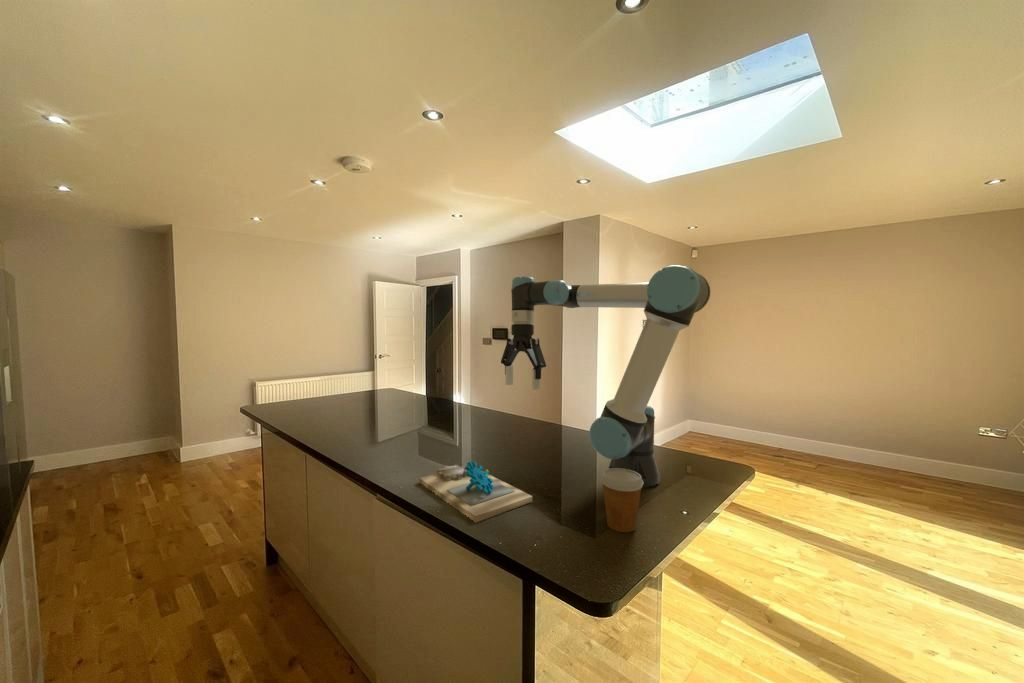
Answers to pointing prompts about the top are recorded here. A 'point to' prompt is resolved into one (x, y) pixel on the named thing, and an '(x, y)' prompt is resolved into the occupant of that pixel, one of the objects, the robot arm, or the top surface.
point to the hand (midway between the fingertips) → (522, 387)
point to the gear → (478, 478)
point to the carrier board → (474, 493)
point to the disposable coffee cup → (621, 498)
